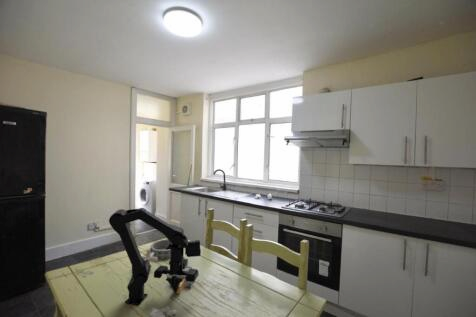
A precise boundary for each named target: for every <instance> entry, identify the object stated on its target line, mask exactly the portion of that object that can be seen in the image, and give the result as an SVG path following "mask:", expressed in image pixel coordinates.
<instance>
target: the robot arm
mask: <svg viewBox="0 0 476 317" xmlns="http://www.w3.org/2000/svg"><path fill="white" fill-rule="evenodd" d="M138 220H140V221H141V222H143V223H145V224H147V225H148V226H150V227H151V228H154V229H155V230H156V231H159V233H161V234H163V235H164V236H165V238H166V239H168V240H169V241H170V242H169V243H168V244H167V245H166V247H165V250H169V249H170V258H169V261H168V265H169V267H168V266H167V265H159V266H158V267H157V268H156V269H154V272H153V278H154V279H161V278H162V276H163V275H166V279H165V281H166V282H168V283H169V285H170V287H171V290H172V291H173V293H174V294H178V293H177V291H178V288H179V285H180V282H182V281H183V280H184V278H185V277H186V283H187V282H194V283H195V281H196V280H197V278H198V277H199V270H198V269H197V268H192V269H189V271H188V272H186V271H184V270H183V269H185V266H188V263H189V262H188V261H189V259H188V258H192V257H201V254H202V252H201V250H202V249H201V241H200V240H199V239H198V240H197V239H196V240H189V239H188V237H187V236H186V234H185V231H184V229H183V227H180V226H178V225H174V224H171V223H168V222H166V221H164V219H161V218H160V217H158V216H157V215H155V214H153V213H152V212H150V211H148V210H147V209H146V208H145V207H140V208H139V207H138V208H132V209H131V208H130V209H122V208H121V209H118V210H116V211H115V212H114V213H113V214H112V215H110V217H109V219H108V223H109V225H110V227H111V228H112V230H113V231H114V232H115V233H116V234H118V235H119V238H120V240H121V242H122V244H123V247H124V250H125V252H126V254H127V258H128V260H129V262H130V264H131V277H130V279H129V282H128V284H127V286H126V288H127V291H128V298H127V299H126V300H125V301H124V303H125V304H129V305H135V306H136V305H137V306H139V305H141V303H142V302H143V301H144V300H145V298H147V297H148V293H145V284H146V283H147V282H148V279H149V277H150V274H151V270H152V265H151V263H150V264H149V260H148V259H146V260H144V259H143V258H142V257H141V256H142V255H141V253H140V249H139V247H138V245H137V242H136V240H135V237H134V234H133V232H132V229H131V223H132V222H134V221H138ZM184 255H185V256H186V257H187V258H185V256H184ZM176 278H177V279H176Z"/></svg>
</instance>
